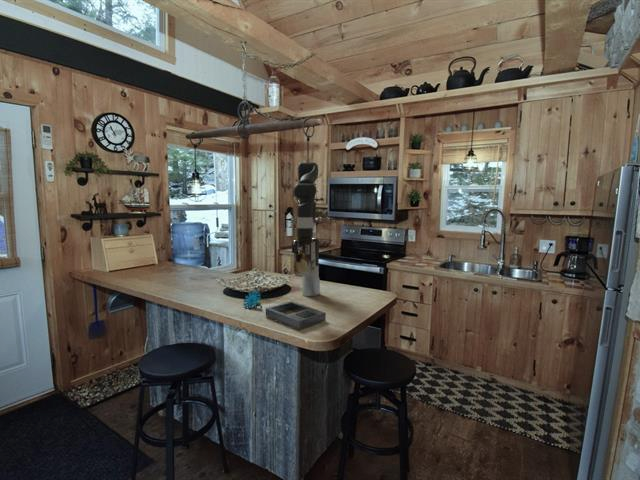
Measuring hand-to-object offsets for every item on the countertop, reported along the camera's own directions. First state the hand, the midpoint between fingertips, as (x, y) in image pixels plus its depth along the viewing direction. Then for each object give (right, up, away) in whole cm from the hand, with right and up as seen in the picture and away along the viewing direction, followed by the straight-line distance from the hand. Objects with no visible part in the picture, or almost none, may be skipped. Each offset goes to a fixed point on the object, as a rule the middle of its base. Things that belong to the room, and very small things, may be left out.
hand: (304, 261), depth 162 cm
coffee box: (0, -7, +1) cm, 7 cm away
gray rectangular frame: (-4, -27, -2) cm, 27 cm away
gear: (-27, -25, +14) cm, 40 cm away
